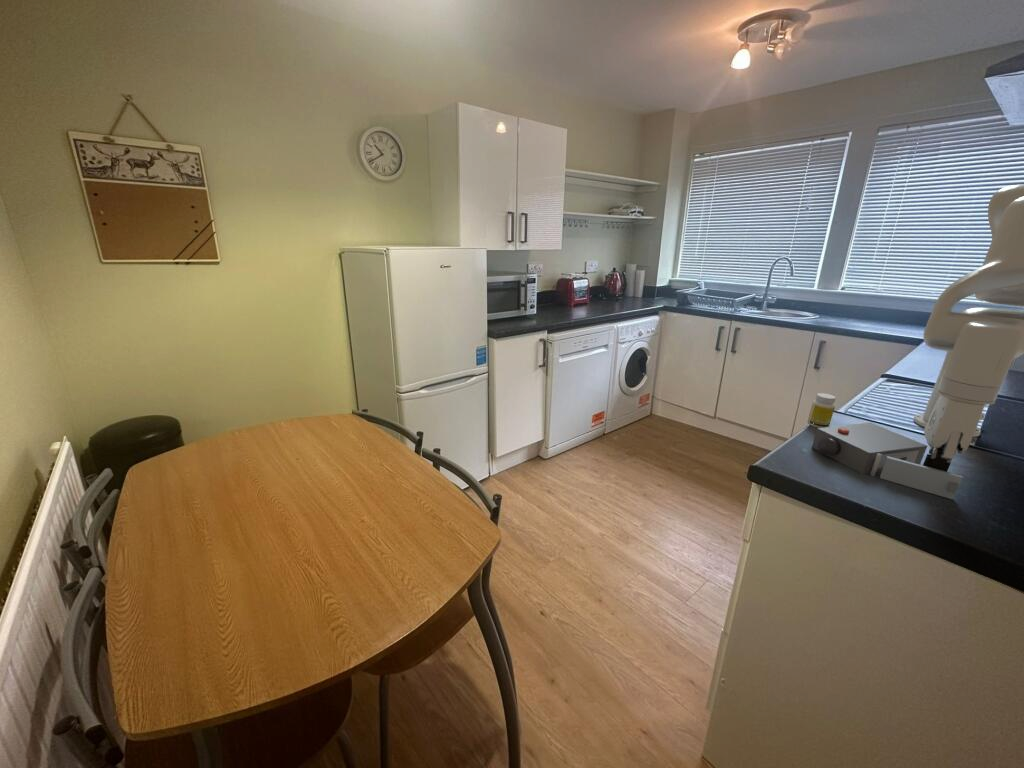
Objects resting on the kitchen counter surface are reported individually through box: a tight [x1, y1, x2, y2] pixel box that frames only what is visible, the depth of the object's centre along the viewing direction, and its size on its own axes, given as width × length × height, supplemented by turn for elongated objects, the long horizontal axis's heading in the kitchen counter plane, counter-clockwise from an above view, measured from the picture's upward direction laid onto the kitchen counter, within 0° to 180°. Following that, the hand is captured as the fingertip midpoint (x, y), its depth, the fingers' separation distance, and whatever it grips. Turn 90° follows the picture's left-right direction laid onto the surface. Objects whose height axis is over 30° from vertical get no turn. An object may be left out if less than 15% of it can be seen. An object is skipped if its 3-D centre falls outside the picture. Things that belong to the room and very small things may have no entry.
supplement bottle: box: [807, 392, 836, 429], centre depth 109 cm, size 5×5×8 cm
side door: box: [879, 456, 964, 500], centre depth 82 cm, size 11×2×5 cm, turn 48°
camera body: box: [811, 422, 928, 477], centre depth 93 cm, size 18×13×6 cm
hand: (931, 475), depth 82 cm, fingers closed
